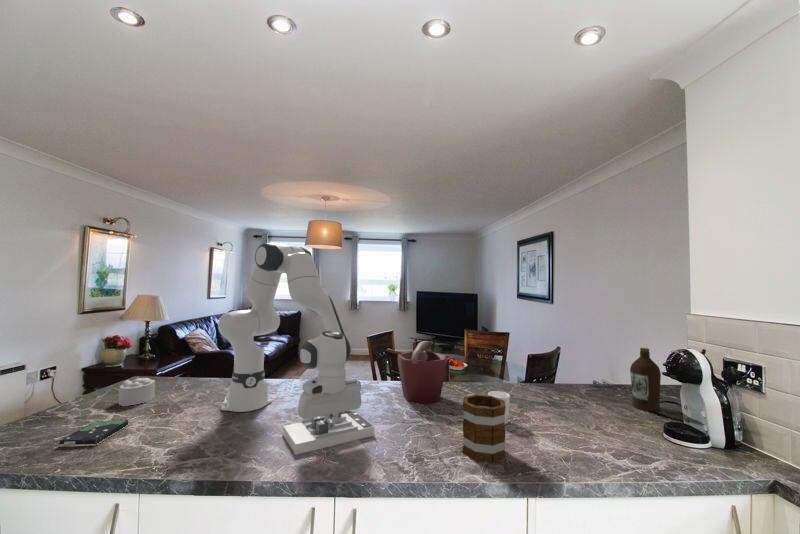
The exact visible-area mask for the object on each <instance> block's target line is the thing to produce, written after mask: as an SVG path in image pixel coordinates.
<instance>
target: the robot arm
mask: <svg viewBox="0 0 800 534" xmlns="http://www.w3.org/2000/svg"><path fill="white" fill-rule="evenodd" d="M254 260H255V261H254V262H255V264H254V266H253V269H252V271H251V274H250V276H249V280H248V282H247V286H246V290H245V296H246V298H247V300H248V301H249V302H251V303H252V306H251V308H249V309H241V310H239V309H238V310H233V311H229V312H226V313H223V314H222V315H221V317H220V318H219V321H218V325H217V328H218V332H219V333H220V335H221V336H222V337H224V338H225V339H226V340H227V341H228V342H229V343H230V345H231V347H232V350H233V360H234V362H233V364H234V365H233V371H232V375H231V378H232V379H231V380H232V382H231V384H230V385H229V387H228V388H225V395H226V396H225V397H224V400H223V402H222V405H221V407H220V409H221V411H230V412H234V413H235V412H236V413H237V412H238V413H242V412H251V411H256V410H259V409H262V408H264V407H265V406H266V405H269V404H271V403H272V402H273V400H272V399H271V398H270V397H269V383H268V382H267V381H266V380H265V373H266V372H265V369H264V365H265V364H264V361H265V351H264V349H263V348H262V347H260V346H259V345H257V344H256V343H255V339H254V337H256V336H257V337H258V336H263V335H264V336H265V335H269V334H271V333H274V332H276V331H277V330H278V328H279V326H280V324H281V317H280V315H279V312H278V311H276V309H275V303H274V301H275V297H276V294H277V291H278V286H279V284H280V281H281V277H282V274H286V279H287V280H286V282H287V287H288V292H289V296H290V298H291V299H292V301H293V302H294V303H295V304H296V305H298V306H300V307H303V308H306V309H309V310H311V311H313V312H316V313H317V314H318V315H319V316H320V317H321V319H322V321H323V324H324V326H325V331H323V332H321V333H320V334H319V336H317V337H315V338H311V339H309V340H306V341H304V342H303V343H302V344H301V346H300V348H299V351H298V353H299V354H298V356H299V357H298V359H299V362H300V364H301V365H302V366H303V367H304V368H306V370H307V369H312V370H314V369H317V370H318V372H317V376H316V377H314V378H312V379H310V380H308V381H306V382H304V383H303V384H302V386H301V388H302V390H303V391H302V393H301V394H300V396H299V401H298V408H297V409H298V410H297V414H298V416H299V417H300V418H301V420H302V419H309V418H314V417H319V416H323V417H324V419H325V421H327V422H328V428H333V427H335V422H336V420H337V418H338V416H339V412H344V411H353V410H358V409H360V408H361V406H362V394H361V393H362V392H361V390H362V384H361V381H360V380H358V379H352V380H347V378H346V376H347V375H346V374H347V371H346V363H347V362H348V360H349V359H350V356H351V355H352V346H351V344H350V341H349V339H348V337H347V336H346V334H345V331H344V329H343V326H342V324H341V321H340V318H339V315H338V312H337V310H336V307H335V304H334V301H333V300H332V298H331V296H330V295H328V294H327V293H326V291H325V290H324V288H323V286H322V285H321V280H320V275H319V273H318V270H317V266H316V264H315V263H316V262H315V261H314V258H313V255H312V253H311V252H310V251H309V250H308V249H306V248H304V247H302V246H300V247H299V246H297V245H293V244H286V243H285V244H284V243H274V242H265V243H261V244H260V245H259V246H258V247H257V248H256V251H255V255H254ZM330 414H333V417H332V419H331V420H330V421H329V419H328V418H329V417H330Z"/></svg>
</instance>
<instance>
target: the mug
mask: <svg viewBox="0 0 800 534" xmlns="http://www.w3.org/2000/svg"><path fill="white" fill-rule="evenodd" d="M462 406H463V407H462V408H463V421H462V435H463V440H462V441H463V444H462V445H463V446H462V454H463V455H464V456H467V457H468V458H469V459H471V460H472V461H475V462H481V463H488V462H489V464H495V463H498V462H501V461H503V460H505V459H506V450H505V448H506V445H505V444H506V443H505V442H506V424H505V408H506V406H505V401H504V400H501V399H499V398H496V397H493V396H488V394H487V395H486V394H474V393H469V394H467V395H465V396H463V400H462ZM500 460H501V461H500Z"/></svg>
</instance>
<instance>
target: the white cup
mask: <svg viewBox="0 0 800 534" xmlns="http://www.w3.org/2000/svg"><path fill="white" fill-rule="evenodd" d="M487 396H493V397H496V398H499V399H501V400H504V401H505V406H506V408H505V425H508V424H509V415H510V401H511V400H510V399H511V396H510V393H507V392H504V391H500V390H499V391H498V390H492V391H491V390H490V391H489V392H487Z"/></svg>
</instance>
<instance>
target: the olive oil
mask: <svg viewBox="0 0 800 534" xmlns="http://www.w3.org/2000/svg"><path fill="white" fill-rule="evenodd" d="M639 350H640V351H639V357H638V358H637V359H636V360H635V361H633V362H632V363H631V365H630V369H629V370H630V373H629V374H630V385H631V401H632V402H631V403H632V407H634V408H635V409H638V410H642V411H647V412H660V410H661V406H660V405H661V377H662V376H661V374H662V372H661V369H660V367H659V366H658V365H657V363H656V362H654V361H653V360H652V358H651V357H650V356H651V355H650V348H647V347H639Z"/></svg>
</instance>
